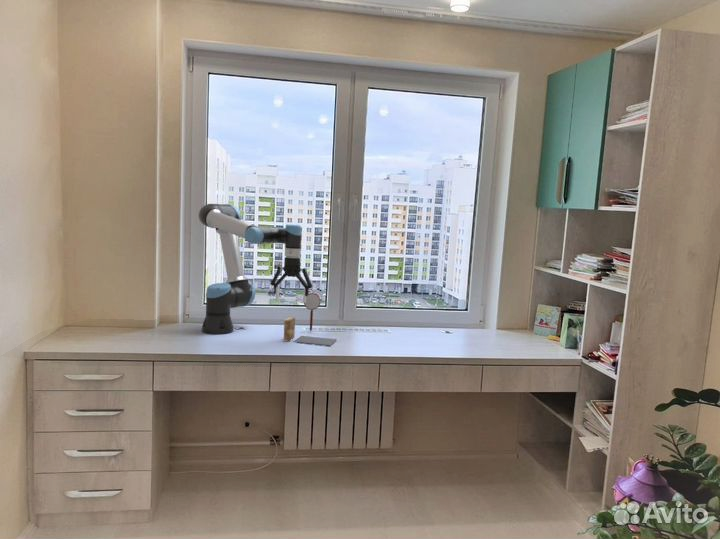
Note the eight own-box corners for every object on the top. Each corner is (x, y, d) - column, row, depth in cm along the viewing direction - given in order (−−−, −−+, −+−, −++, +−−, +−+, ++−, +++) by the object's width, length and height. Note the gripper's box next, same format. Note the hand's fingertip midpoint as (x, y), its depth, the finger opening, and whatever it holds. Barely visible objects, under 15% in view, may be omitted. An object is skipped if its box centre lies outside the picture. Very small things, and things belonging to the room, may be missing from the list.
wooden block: (283, 340, 248) (284, 320, 247) (288, 337, 255) (289, 317, 253) (289, 341, 247) (290, 320, 246) (294, 338, 254) (295, 317, 253)
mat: (293, 342, 245) (293, 341, 245) (301, 336, 257) (301, 335, 257) (330, 346, 242) (330, 345, 242) (336, 340, 254) (336, 339, 253)
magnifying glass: (319, 331, 271) (320, 293, 269) (319, 331, 269) (321, 293, 267) (302, 330, 270) (304, 292, 267) (302, 331, 268) (304, 293, 266)
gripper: (264, 255, 245) (263, 300, 248) (315, 259, 241) (313, 304, 243) (270, 254, 253) (268, 297, 255) (320, 258, 248) (318, 302, 250)
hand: (290, 301), depth 249 cm, fingers open, 13 cm apart
